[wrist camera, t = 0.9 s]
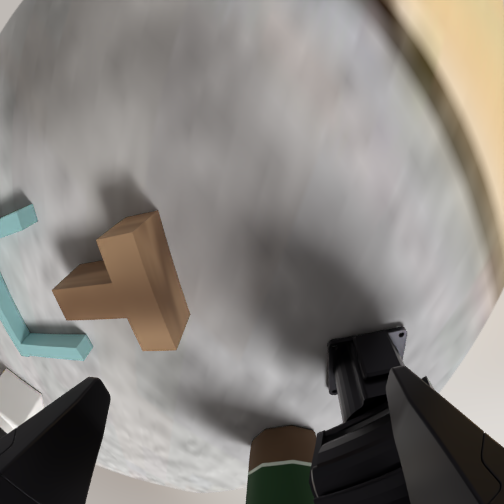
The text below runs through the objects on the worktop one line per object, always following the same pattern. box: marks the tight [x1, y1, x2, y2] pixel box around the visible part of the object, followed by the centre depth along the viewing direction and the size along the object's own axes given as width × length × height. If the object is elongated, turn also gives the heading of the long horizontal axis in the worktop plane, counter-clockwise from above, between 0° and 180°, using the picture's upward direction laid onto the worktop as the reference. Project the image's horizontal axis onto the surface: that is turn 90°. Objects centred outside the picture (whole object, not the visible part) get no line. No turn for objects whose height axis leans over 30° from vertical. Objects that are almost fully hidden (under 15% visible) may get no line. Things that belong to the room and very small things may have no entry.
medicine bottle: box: [0, 369, 44, 438], centre depth 25 cm, size 7×7×12 cm
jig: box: [0, 204, 93, 361], centre depth 21 cm, size 14×10×2 cm
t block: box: [52, 210, 190, 351], centre depth 19 cm, size 8×8×4 cm
